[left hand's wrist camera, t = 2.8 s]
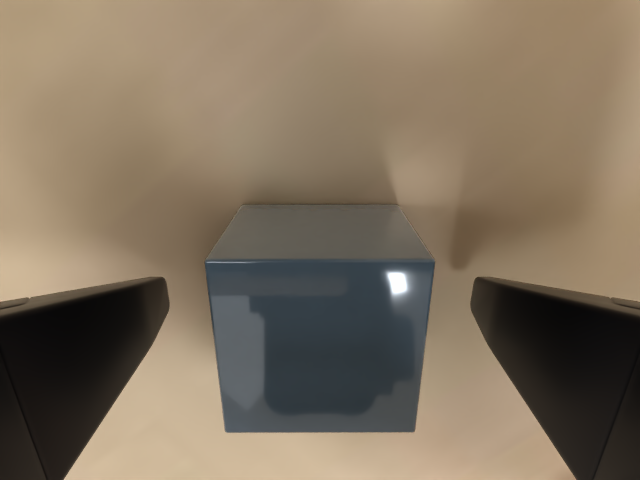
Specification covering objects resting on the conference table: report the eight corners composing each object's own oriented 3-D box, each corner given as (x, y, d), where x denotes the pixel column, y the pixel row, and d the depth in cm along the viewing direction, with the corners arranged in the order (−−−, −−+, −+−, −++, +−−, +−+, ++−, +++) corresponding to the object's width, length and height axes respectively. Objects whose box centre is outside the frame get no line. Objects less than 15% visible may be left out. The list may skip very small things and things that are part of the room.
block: (251, 336, 13) (224, 434, 10) (241, 204, 12) (203, 259, 8) (388, 336, 13) (415, 434, 10) (398, 203, 12) (436, 259, 8)
